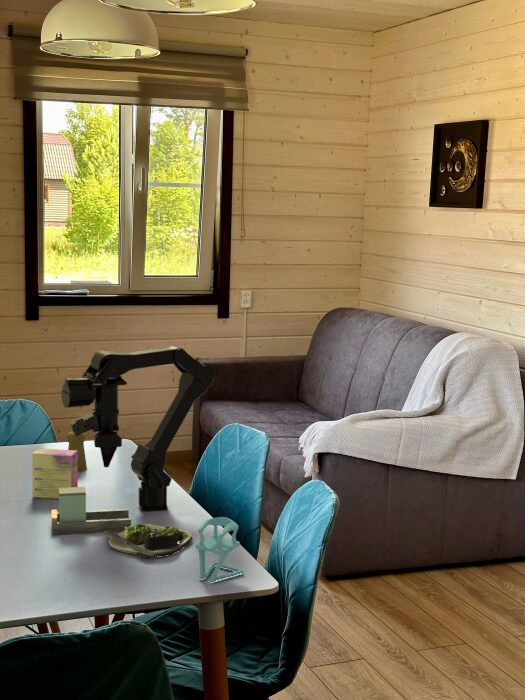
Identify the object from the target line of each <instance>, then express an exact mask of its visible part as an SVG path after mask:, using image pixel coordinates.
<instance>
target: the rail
mask: <svg viewBox="0 0 525 700" xmlns="http://www.w3.org/2000/svg"><path fill="white" fill-rule="evenodd" d="M129 512H130V511H129V509H128V508H126V509H125V508H124V509H104V510H103V509H101V510H100V509H99V510H86V521H70V522H59V512H58V509H51V535H52V536H60V535H61V536H62V535H79V534H80V535H81V534H95V533H98V534H99V533H104V532H105V531H107V530H111V531H113V532H114V533H116V532H117V533H118V532H119V533H120V532H123V531H124V530H125V528H124V527H125V526H126V527H127V528H129V527H130V526H132V518H130V515H129Z"/></svg>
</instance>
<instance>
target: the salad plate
mask: <svg viewBox="0 0 525 700" xmlns="http://www.w3.org/2000/svg"><path fill="white" fill-rule="evenodd" d="M124 528H125V530H124V531H120V532H119V533H116V532H113V531H111V530H107V531H105V532H103V533H104V534H105V536H106V537H108V538H109V539H108V544H109V545H110V546H111V548H112V549H114V550H116V551H119V552H121V553H126V554H129V553H131V554H130V555H134V554H136V555H135V556H138V555H141V556H140V557H142V556H146V557H145V558H148V557H157V556H158V557H159V556H166V555H170V556H172V555H171V554H173V553H175V552H177V551H179V550H180V551H182V550H183V549H184V548H183V547H185V546H186V547H188V546H189V544H190V543H191V542H192V540H193V535H192V533H191V532H189V531H188V530H186V529H182V528H177V527H175V526H168V525H167V526H161V525H156V524H149V523H148V524H147V523H146V524H143V523H138V522H137V523H135V524H134V525H131V526H130V527H129V528H127V527H126V526H125V527H124ZM150 533H153V534H150ZM178 541H180V542H179V543H180V544H177V542H178ZM186 547H185V548H186ZM182 548H183V549H182ZM181 549H182V550H181ZM180 551H179V552H180ZM177 553H178V552H177ZM175 554H176V553H175ZM173 555H174V554H173Z"/></svg>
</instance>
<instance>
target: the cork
mask: <svg viewBox="0 0 525 700" xmlns="http://www.w3.org/2000/svg"><path fill="white" fill-rule="evenodd" d="M85 440H86V434H85V433H82V434H81V435H79V436H75V435H74V433H73V430H72V431H69V432H68V433H67V435H66V441H67V443H68V448H67V450H78V473H80V472H81V473H82V472H84V471H87V470H88V467H87V459H86V453H85V452H86V451H85V444H84V443H85Z"/></svg>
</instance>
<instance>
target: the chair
mask: <svg viewBox="0 0 525 700" xmlns="http://www.w3.org/2000/svg"><path fill="white" fill-rule="evenodd" d="M209 525H210V526H213V535H212V536H211V537H209V538H207V539H205V536H204V534H203V532H204V530H205V529H206V528H207V527H208V526H209ZM218 527H223V529H222V530H221V531H220V532H219V531H218ZM238 530H239V525H238V524H237V523H236V522H235V521H234V520H232V519H230V518H229V517H225V516H220V517H219V516H218V517H213V518H212V517H211V518H208V519H206V520H204V521H203V522H202V524H201V525H200V526H199V527H198V529H197V532H198V534H199V538H200V540H199V542H198V543H195V549H197V550H198V559H199V578H200V579H204V578H205V577H207V575H208V574H209V573H210V572H211V573H210V574H211V575H210V574H209V575H210V578H209V581H210V582H214V581H216V580H219V579H223V578H226V577H230V576H234V575H237V574H240V573H243V572H245V571H244V569H241V568H238V567H235V566H230V565H228V564H224V562H225V560H226V558H227V557H228V556H229V554H230V553H231V552H232V551H233V550H234V549H237V548H238V547H240V546H241V543H240V541H237V539H236V535H237V532H238ZM231 531H233V532H232V534H231V539H229V538H224V537H225V536H226V535H227V534H228V533H230V532H231ZM206 552H210V553H213V554H215V555H218V556H219V559H218V562H216V561H213V562H211V563H210V564H209V565H208V567H206ZM215 565H217V566H216V567H214V566H215ZM213 567H214V569H213ZM221 567H223V568H227V569H230V570H233V571H235V572H231V571H230V572H227V573H224V574H220V575H218V574H219V572H220V570H221ZM212 569H213V570H212ZM211 570H212V571H213V572H212V571H211ZM207 578H208V577H207Z"/></svg>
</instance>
